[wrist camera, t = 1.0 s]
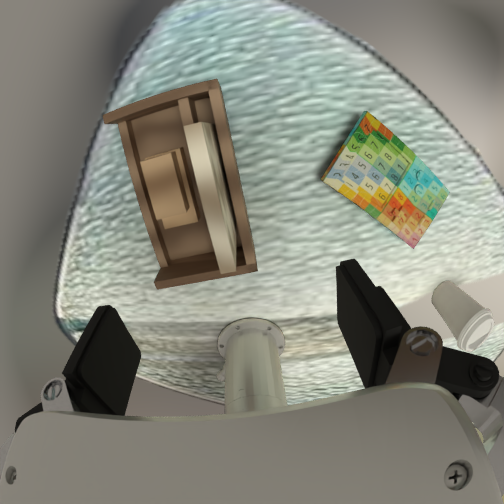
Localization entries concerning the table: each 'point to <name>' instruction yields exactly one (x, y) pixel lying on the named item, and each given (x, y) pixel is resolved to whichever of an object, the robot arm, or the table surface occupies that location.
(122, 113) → the walnut rack
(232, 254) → the birch sheet
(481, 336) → the coffee cup
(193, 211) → the tan wooden block
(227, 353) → the robot arm
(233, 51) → the table surface
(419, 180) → the puzzle game
